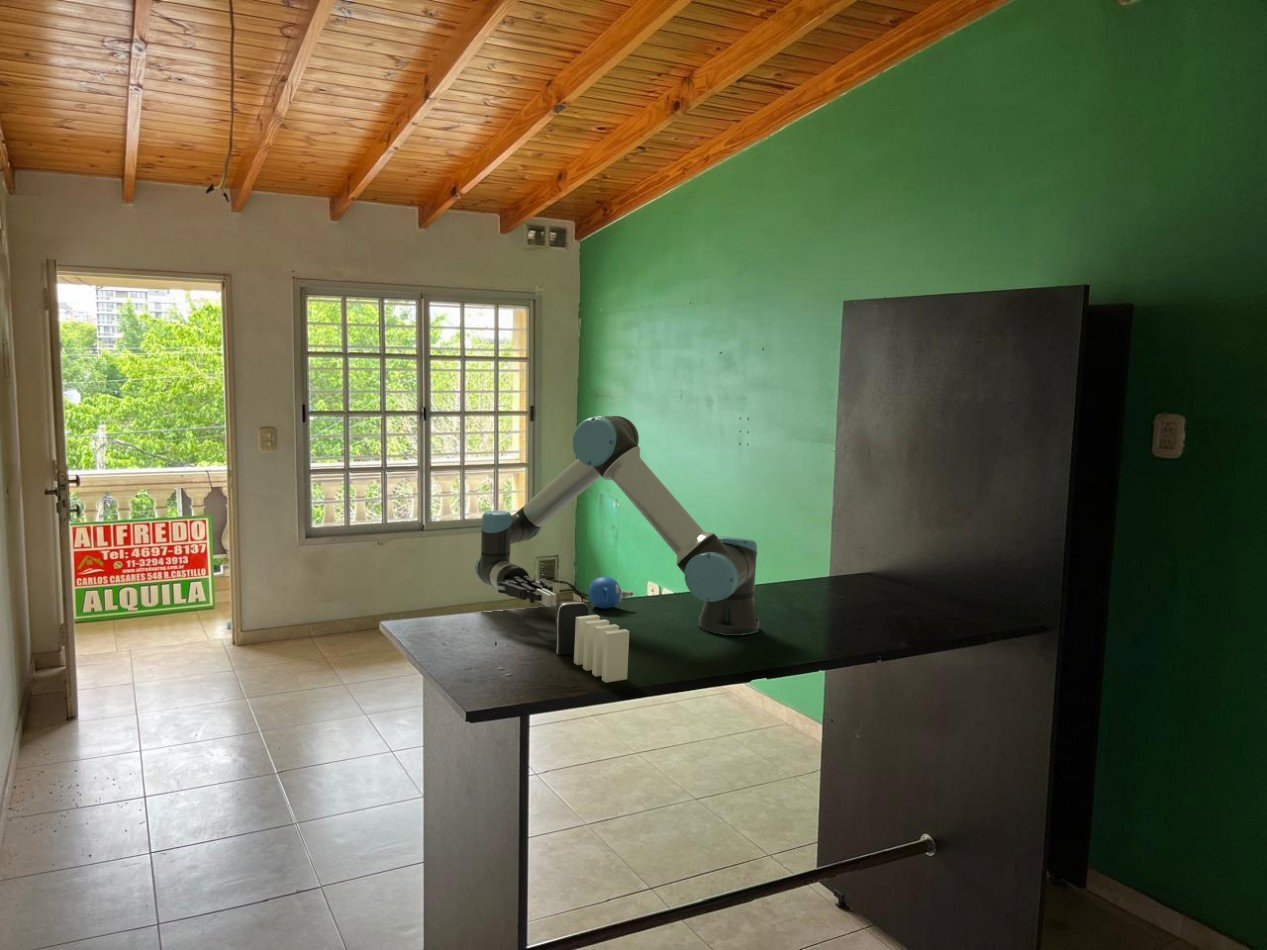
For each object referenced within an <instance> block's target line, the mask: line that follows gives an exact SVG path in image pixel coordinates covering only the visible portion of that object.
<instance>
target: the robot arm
mask: <svg viewBox="0 0 1267 950" xmlns="http://www.w3.org/2000/svg"><path fill="white" fill-rule="evenodd" d="M639 439H640V436H639V432H638V429H637V427H636V425H635V424H634V422H632V421H631V420H630V419H628V418H627V417H624V416H621V415H620V416H619V415H611V416H603V415H595V416H592V417H589V418H585V419H583V421H581V422H580V423H579V424H578V425H577V426H576V428H575V430H574V432H573V435H572V449H573V453H574V455H575V457H576V459H575V460H574V461H573V462H572V463H571V464H570V465H568V467H566V468H565V469H564V470H563V471H562V472H560V474H558V475H557V476H556V477H555V478H553V480H551V481H550V482H549V483H548V484H547V485H546V486H545V487H544V488H542V489H541V490H540V491H539V492H538V493H537V494H535V495H534V496H533V497H532V498H531V499H530V500H529V501H528V502H527V503H525V504H524V505H523V506H522V507H521V508H520V509H519V510H517V511H516V512H515V513H514V514H511V512H509V511H506V510H487V511H485V512H484V513H482V521H481V525H480V526H481V527H480V528H481V536H480V537H481V542H480V546H481V547H480V551H481V552H480V556H479V557H478V558H477V561H476V562H475V565H474V571H475V575H476V576H477V578H479V579H480V580H481V581H482V582H483V583H484V584H486V585H489V586H491V587H493V588H495V589H497V593H498V594H503V595H504V594H505V595H506V596H509V597H514V598H516V599H520V600H523V601H525V600H527V599H529V603H530V604H534V603H535V601H536V602H538V603H540V604H541V605H544V606H545V607H547V608H549V607H550V608H551V607H557V594H556V593H554V587H553V586H552V585H551V583H549V582H548V581H547V578H545V577H542V578H541V579H539V580H536V579H535V578H533V577H530V574H529V572H528V571H527V570H526V569H524V568H523V567H521V566H518V565H517V564H515V563H513V562H510V561H511V560H510V559H511V545H514V544H517V543H519V542H524V541H529V540H531V539H532V538H535V537H537V536H538V534H539V533H540V531H541V528H542V527H543V526H545V525H546V524H547V523H548V522H549V521H550V520H552V519H553V518H554V517H555V516H556V515H557V514H559V512H561V511H562V510H564V509H565V507H567V506H568V505H569V504H570V503H571V502H573V501H574V500H575V499H576V498H577V497H579V496H580V495H581V494H582V493H583V492H584V491H585V490H587V489H588V488H589V487H590V486H592V484H594V483H595V482H596V481H597V480H598V479H600V478H603V479H602V480H606V481H613V482H614V483H615V485H617V487H618V488H619V489H620V490H621V492H623V494H624V495H625V496H626V497H627V498H628V500H629V502H631V503H632V504H633V505H634V507H635V508H636V509H637V511H638V512H640V514H641V515H642V516H643V517H644V519H645V520H646V521H647V522H648V523H649V524H650V525H651V527H652V528H653V529H654V530H655V531H656V533H657V534H658V535H659V536H660V537H661V538H662V540H663V541H664V542H665V544H667V546H669V548H670V550H672V551H673V553H674V554H675V555H676V567H678V568H679V569H680V571H681V572H682V573H683V574H684V582H685V585H686V588H687V589H688V590H689V592H690V593H691V594H692V595H693V596H694V597H696V598H698V599H699V600H701V601H704V603H703V606H702V609H701V613H700V614H699V617H698V627H699V626H700V627H701V628H702V629H704V630H708V631H712V632H717V633H724V634H742V633H750V632H753V631H756V630H757V629H758V628H759V629H760V619H759V615H758V611H757V606H756V603H755V599H754V598H755V583H756V572H757V571H756V570H757V568H756V567H757V555H758V550H757V549H758V545H757V542H756V541H755V540H753V539H750V538H744V537H743V538H742V537H735V536H734V537H733V536H722V535H721V536H720V535H716V533H714V532H707V531H705V530H704V529H703V528H701V526H700V525H699V523H697V521H696V520H695V519H694V518H693V517H692V516H691V514H689V512H688V511H687V510H686V509H685V508H684V507H683V505H682V504H681V503H680V502H679V501H678V500H677V498H676V497H675V496H674V494H672V493H671V492H670V490H669V489H668V488H667V487H666V486H665V485H664V484H663V482H662V481H661V480H660V479H659V478H658V477H657V475H656V474H655V473H654V472H653V471H652V470H651V469H650V468H649V466H648V465H647V463H646V462H644V460H643V459H642V458H641V447H640V446H639V444H640V443H639V441H640V440H639ZM700 627H699V628H700ZM701 628H700V629H701ZM702 629H701V630H702ZM704 630H703V631H704Z"/></svg>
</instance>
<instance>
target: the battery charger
mask: <svg viewBox="0 0 1267 950" xmlns="http://www.w3.org/2000/svg"><path fill="white" fill-rule="evenodd" d="M581 616H589V607H588V605H587V604H586V603H584V602H582V601H579V600H578V601H577V600H575V601H572V600H571V601H562V602H559V603H558V604H556V609H555V626H556V645H555V653H556V654H557V655H558V656H560V655H561V656H562V655H563V656H565V655H574V648H575V624H576V617H581Z"/></svg>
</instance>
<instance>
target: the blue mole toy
mask: <svg viewBox="0 0 1267 950" xmlns="http://www.w3.org/2000/svg"><path fill="white" fill-rule="evenodd" d="M620 587H621V585H620V584H619V583H618V582H617V580H615V579H614V578H612V577H609V576H600V577H597V578H595V579H593V581H592V582H591V583H590V585H589V588H588V597H589V601H590V603H591V604H592V605H593V606H594V607H596V608H599V609H601V610H604V609H605V610H606V609H610V608H613V607H614V606H616V605H617V604H619V603H621V602H622V600H623V599H626V598H628V597H629V596H630V597H631V596H633V595H634V592H633V591H628V590H623V589H621V588H620ZM593 602H601V603H593Z"/></svg>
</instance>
